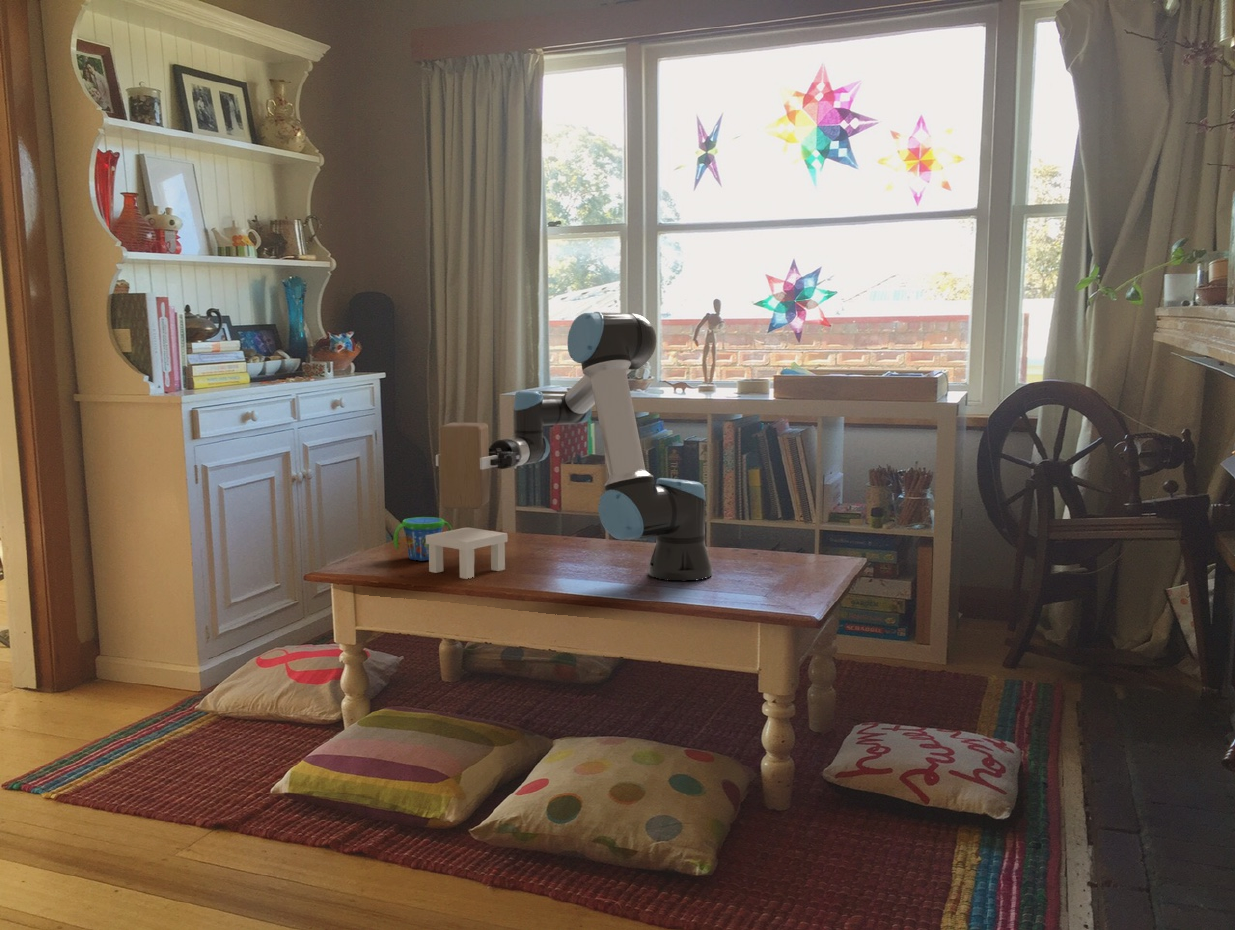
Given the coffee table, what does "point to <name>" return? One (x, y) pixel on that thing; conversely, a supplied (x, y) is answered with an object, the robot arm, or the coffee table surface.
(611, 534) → the robot arm
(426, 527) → the snack cup
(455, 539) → the footstool
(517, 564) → the coffee table surface
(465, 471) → the block
